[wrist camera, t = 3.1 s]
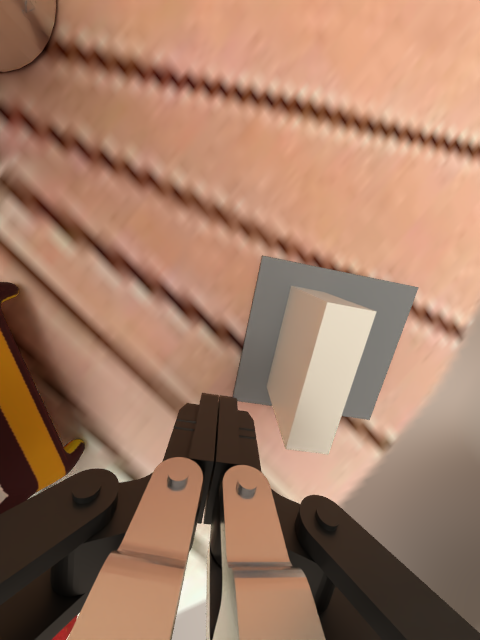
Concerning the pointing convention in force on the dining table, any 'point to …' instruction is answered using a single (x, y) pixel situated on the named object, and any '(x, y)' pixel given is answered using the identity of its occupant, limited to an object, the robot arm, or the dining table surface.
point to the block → (316, 366)
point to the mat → (357, 289)
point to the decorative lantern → (26, 427)
